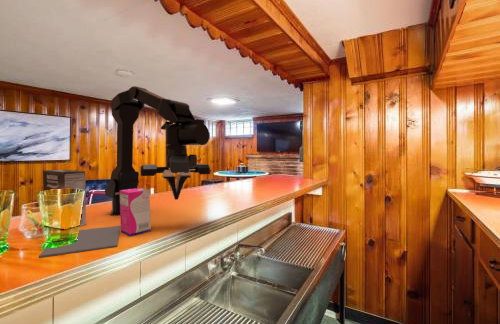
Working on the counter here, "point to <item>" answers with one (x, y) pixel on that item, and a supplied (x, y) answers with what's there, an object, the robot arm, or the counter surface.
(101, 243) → the bar mat
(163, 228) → the counter surface
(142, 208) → the supplement box
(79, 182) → the coffee box
